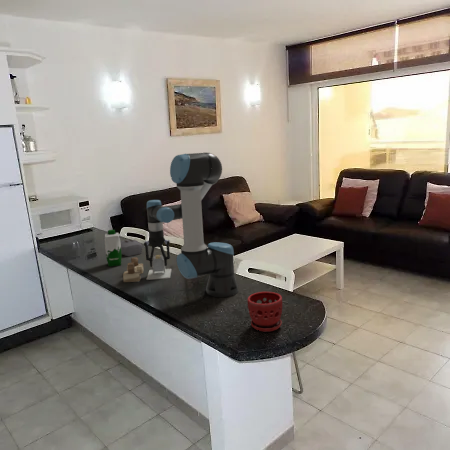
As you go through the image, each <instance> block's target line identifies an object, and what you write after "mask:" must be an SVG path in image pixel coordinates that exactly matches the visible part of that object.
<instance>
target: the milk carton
mask: <svg viewBox="0 0 450 450" xmlns="http://www.w3.org/2000/svg"><path fill="white" fill-rule="evenodd" d="M103 239H104V248H105V257H106V262H107V266H108V267H117V266H118V267H119V266H122V256H123V255H122V254H121V243H120V241H121V237H120V233H119V232H116V230H115V229H109V230H107V233H104V238H103Z"/></svg>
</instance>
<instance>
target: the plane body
mask: <svg viewBox="0 0 450 450" xmlns="http://www.w3.org/2000/svg"><path fill="white" fill-rule="evenodd" d="M130 261H131V262H128V263H127V265H126V271H124V272H123V273H122V279H123V283H131V282H133V283H136V282H140V281H141V279H142V277H141V274H143V273H144V263H139V258H138V257H134V256H133V257H131V258H130Z"/></svg>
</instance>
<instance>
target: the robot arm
mask: <svg viewBox="0 0 450 450" xmlns="http://www.w3.org/2000/svg"><path fill="white" fill-rule="evenodd" d="M222 173H223V166H222V162H221V160H220V158H219V157H218V156H216V155H215V154H214V153H211V152H196V153H195V152H194V153H183V154H177V155H175V156H174V157H173V158H172V160H171V163H170V167H169V176H170V178H171V180H172V182H173V183H174V184H175V185H176V188H177V189H178V190H179V191H180V204H179V203H178V204H174V205H173V204H171V205H166V206H165V205H162V201H161V200H160V199H150V200H148V201H147V202H146V212H147V214H146V215H147V224H148V240H147V241H146V240H145V241H144V243H143V245H144V247H145V260H146V261H149V267H150V268H152V270H153V273H155V272H154V268H153V257H154V252H155V249H156V248H159V250H160V253H161V255H163V258H164V259H163V269H164V273H165V271H166V270H165V269H166V267H167V265H168V260H170V259H171V253H170V252H171V251H170V243H171V240H170V239H165V236H164V224H169V223H171V222H172V221H176V220H182V231H183V233H182V235H183V245H182V246H181V247H180V253H179V254H178V253H177V256H176V265H177V268H178V269H177V270H179V272H180V274H181V275H182V277H184V278H185V279H188V280H191V279H196V278H199V277H203V276H206V275H209V276H208V280H207V283H206V287H205V288H206V289H205V290H206V292H205V293H206V294H207V295H208V296H211V297H215V298H228V297H232V296H234V295H236V294H237V293H239V283H238V282H237V279H236V276H235V260H234V255H235V252H234V247H233V246H232V245H231V244H229V243H226V242H216V241H215V242H214V241H213V242H210V243H208V244H206V243H205V241H204V226H203V224H204V223H203V210H202V209H203V207H202V200H203V199H204V198H205V196H206V194H207V193H208V191H209V190H210V189H211V187H212V186H213V185H215V184H217V182H218V181H219V180H220V179H221V177H222ZM164 243H165V245H166V252H165V248H164V246H163V245H164ZM149 245H151V252H149ZM149 253H150V255H149Z"/></svg>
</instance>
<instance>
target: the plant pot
mask: <svg viewBox="0 0 450 450" xmlns="http://www.w3.org/2000/svg"><path fill="white" fill-rule="evenodd" d="M247 297H248V298H247V299H246V300H247V310H248V315H249V317H250V319H251V321H250V325H251V327H252V328H254V329H255V330H257V331H258V330H259V332H266V333H267V332H269V333H270V332H273V331H276V330H279V328H280V327H281V325H282V323H283V322H282V320H281V317H282V313H283V297H282V294H280V293H277V292H273V291H257V292H254V293H252V294H250V295H249V296H247ZM264 299H266V300H264ZM258 301H260V302H261V303H258ZM270 301H271V302H270Z"/></svg>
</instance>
